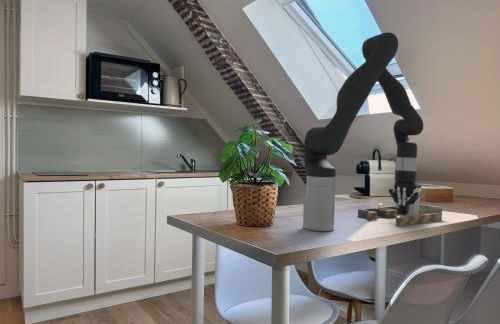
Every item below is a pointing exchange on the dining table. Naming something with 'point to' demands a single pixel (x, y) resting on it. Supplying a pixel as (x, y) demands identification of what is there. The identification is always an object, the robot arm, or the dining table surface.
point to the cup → (413, 207)
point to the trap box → (424, 215)
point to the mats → (385, 217)
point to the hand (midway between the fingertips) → (403, 215)
